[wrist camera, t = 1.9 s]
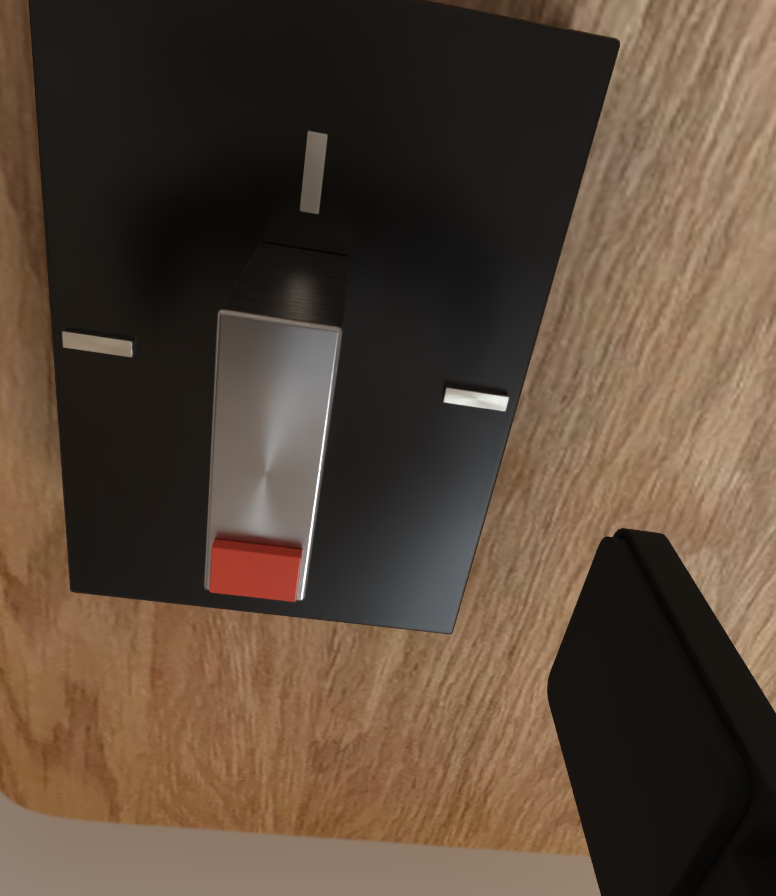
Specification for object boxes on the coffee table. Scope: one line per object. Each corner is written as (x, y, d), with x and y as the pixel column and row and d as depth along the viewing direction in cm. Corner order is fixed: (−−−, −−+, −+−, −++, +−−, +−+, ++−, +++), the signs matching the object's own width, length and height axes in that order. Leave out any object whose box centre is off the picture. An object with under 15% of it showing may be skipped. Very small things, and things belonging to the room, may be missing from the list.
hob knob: (259, 241, 13) (212, 314, 10) (351, 256, 14) (343, 333, 10) (241, 469, 16) (199, 600, 12) (320, 479, 16) (303, 612, 12)
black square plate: (88, -55, 14) (16, -84, 11) (578, 43, 15) (626, 39, 12) (107, 524, 20) (66, 597, 18) (443, 565, 21) (453, 640, 19)
